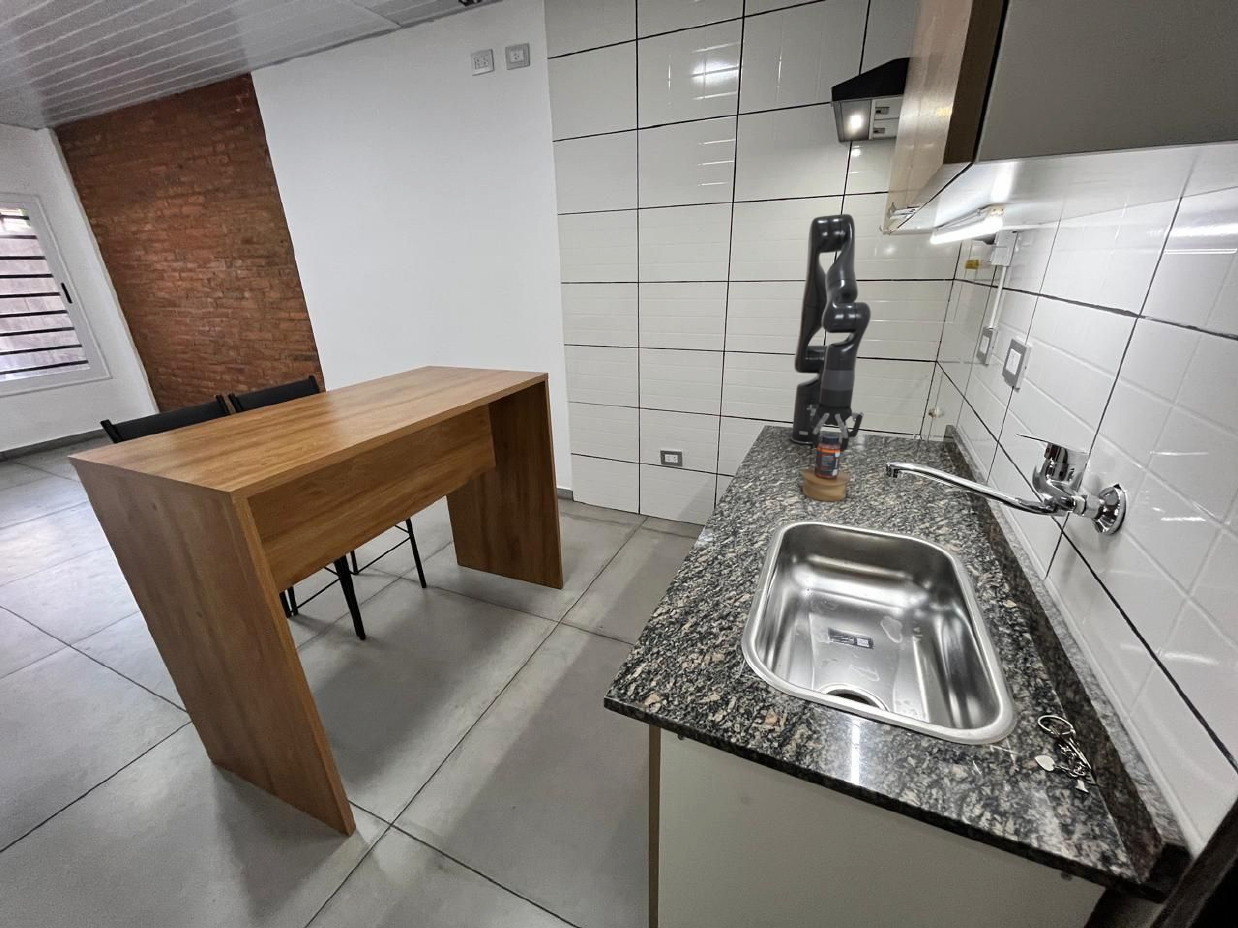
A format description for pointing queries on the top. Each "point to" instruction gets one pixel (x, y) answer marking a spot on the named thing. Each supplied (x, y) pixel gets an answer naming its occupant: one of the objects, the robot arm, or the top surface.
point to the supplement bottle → (828, 456)
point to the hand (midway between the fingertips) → (829, 448)
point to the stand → (825, 486)
